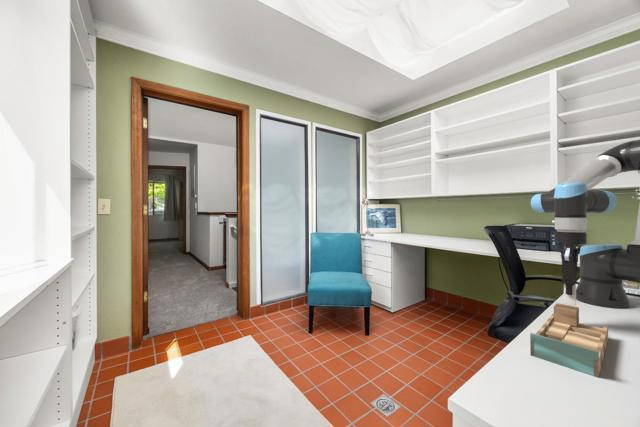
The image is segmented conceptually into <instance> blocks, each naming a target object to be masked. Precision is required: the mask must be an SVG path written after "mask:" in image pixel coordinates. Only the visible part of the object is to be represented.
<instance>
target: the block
mask: <svg viewBox="0 0 640 427" xmlns="http://www.w3.org/2000/svg"><path fill="white" fill-rule="evenodd" d="M553 314H554V322H559V323H563V324H567V325H571V326H575V327H577V325H578V323H580V307H579V306H576V305H575V306H574V305H569V304H564V303H559V302H556V303H555V304H554V306H553Z"/></svg>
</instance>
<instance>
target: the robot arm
mask: <svg viewBox="0 0 640 427" xmlns="http://www.w3.org/2000/svg"><path fill="white" fill-rule="evenodd" d="M636 171H637V174H638V175H640V139H636V140H630V141H627V142H622V143H620V144H617V145H615V146H613V147H611V148H609V149H607V150H606V151H605V150H604V152H602V153H600V154H598V155H597V156H595V157H594V158H593V159H591V160H590V163H589V164H588V165H587V166H585V167H583V169H581V170H579V171H577V172H576V173H575V174H574V175H572V176H570V177H569V178H567V179H566V180H564V181H563V182H561V183H558V184H557V185H555V187H554V188H552V189H551V190H549V191H548V192H542V193H536V194H535V195H534V194H533V195H532V197H531V199H530V206H531V209H532V210H533V211H534V212H536V213H543V214H548V213H549V214H554V220H552V221H551V223H552V224H554V229H555V230H556V231H554V233H553V234H554V238H553V239H554V242H555V243H558V244H563V247H562V248H560V254H561V255H560V257H561V272H562V275H561V276H562V280H561V281H560V284H563V304H565V305H570V306H575V307H576V305H577V301H579V302H583V303H586V304H590V305H594V306H598V307H599V306H600V307H606V308H613V309H615V308H616V309H626V308H629V307H630V299H629V296H628V295H627V294H626V293H627V292H626V290H625V288H624V286H623V281H628V282H632V283H638V284H640V203H639V204H638V205H639V206H638V211H637V220H636V228H635V233H634V239H633V241H631V242H628V243H627V244H626V249H625V248H624V247H623V245H621V244H587V233H586V232H585V231H587V230H588V221H587V220H588V218H587V214H589V213H591V214H593V213H594V214H602V213H608V212H610V211H613V209H615V207H616V206H617V204H618V199H617V196H616V195H615V194H614V193H613V192H611V191H609V190H604V189H593V188H594V187H596V186H597V185H599V184H600V183H602V182H603V181H605V180H606V179H608V178H613V177H615V176H617V175H619V174H620V173H626V172H627V173H628V172H636ZM586 244H587V245H586ZM577 245H583V246H581V247H580V248H577ZM578 262H579V278H580V279H579V281H578V278H577V276H578V275H577V274H578Z"/></svg>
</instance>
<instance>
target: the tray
mask: <svg viewBox="0 0 640 427" xmlns="http://www.w3.org/2000/svg"><path fill="white" fill-rule="evenodd" d="M529 335H530V337H529V339H530V340H529V341H530V342H529V344H530V346H529V347H530V349H529V350H530V356H532V357H535V358H538V359H540V360H544V361H547V362H550V363H553V364H557V365H559V366H563V367H566V368H568V369H572V370H575V371H578V372H581V373H583V374H587V375H590V376H593V377H596V378H599V377H600V373H601V369H602V365H603V362H604V357H605V353H606V349H607V345H608V342H609V325H606V324H604V325H603V328H602V327H598V326H593V325H590V324H584V323H581V322H579V323H578V325H577V327H575V326H571V325H567V324H563V323H559V322H554V313H552V314H551V315H550V316H549V317H548V319H547V320H546V321H545V322H544V324H543V325H542V326H541V327H540V328H539V329H538V331H537V332H536V333H534V332H531V333H529Z"/></svg>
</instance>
